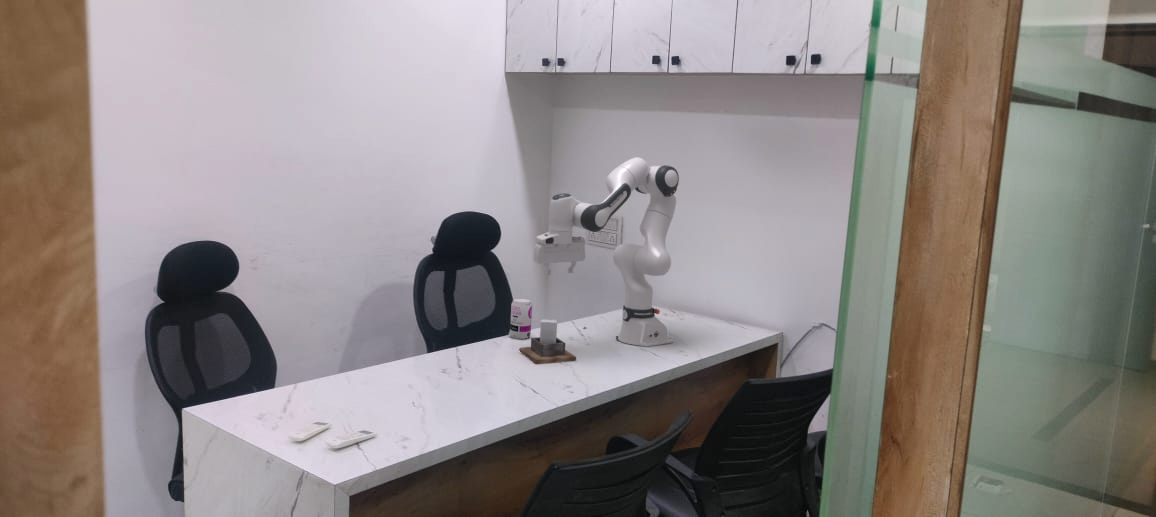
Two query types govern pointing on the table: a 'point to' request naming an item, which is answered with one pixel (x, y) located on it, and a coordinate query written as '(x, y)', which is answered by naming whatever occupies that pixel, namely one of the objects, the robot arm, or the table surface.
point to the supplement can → (521, 318)
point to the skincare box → (548, 331)
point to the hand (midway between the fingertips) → (559, 273)
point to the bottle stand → (547, 352)
